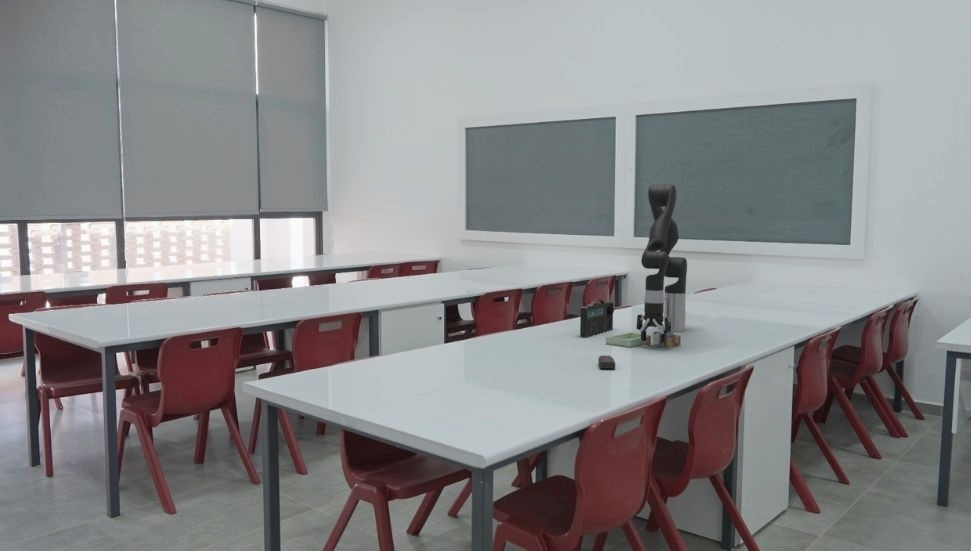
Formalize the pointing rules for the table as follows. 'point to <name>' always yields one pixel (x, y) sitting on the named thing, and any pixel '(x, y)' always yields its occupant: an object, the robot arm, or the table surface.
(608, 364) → the usb drive
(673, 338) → the u-shaped wooden frame
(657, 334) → the grey block with stick
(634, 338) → the tray
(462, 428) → the table surface
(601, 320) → the radio
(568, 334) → the table surface
